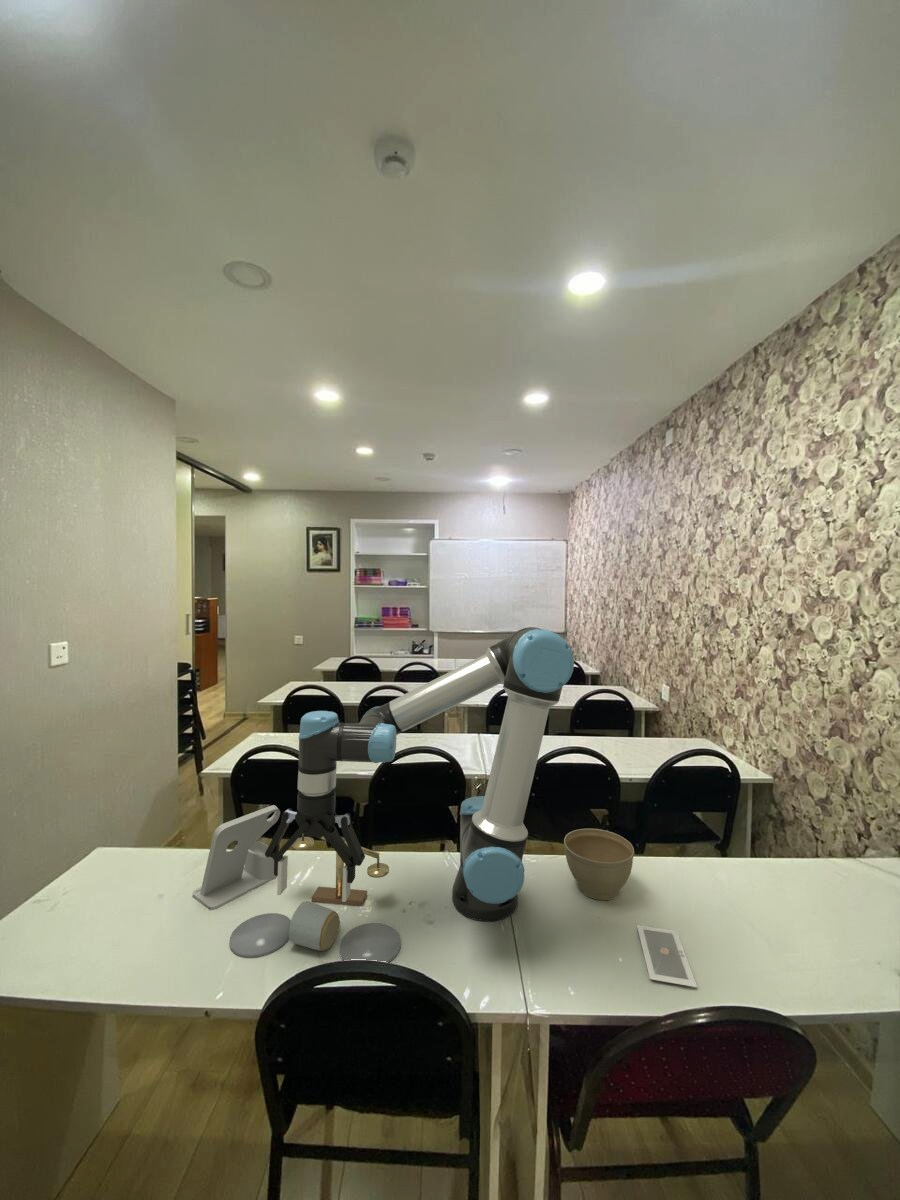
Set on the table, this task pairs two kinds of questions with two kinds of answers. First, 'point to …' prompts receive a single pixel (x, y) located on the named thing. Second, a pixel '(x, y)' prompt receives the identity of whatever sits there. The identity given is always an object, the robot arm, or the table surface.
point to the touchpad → (665, 956)
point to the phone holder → (237, 859)
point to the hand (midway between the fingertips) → (313, 894)
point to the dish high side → (260, 935)
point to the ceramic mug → (314, 926)
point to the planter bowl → (599, 861)
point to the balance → (335, 894)
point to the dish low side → (371, 943)
